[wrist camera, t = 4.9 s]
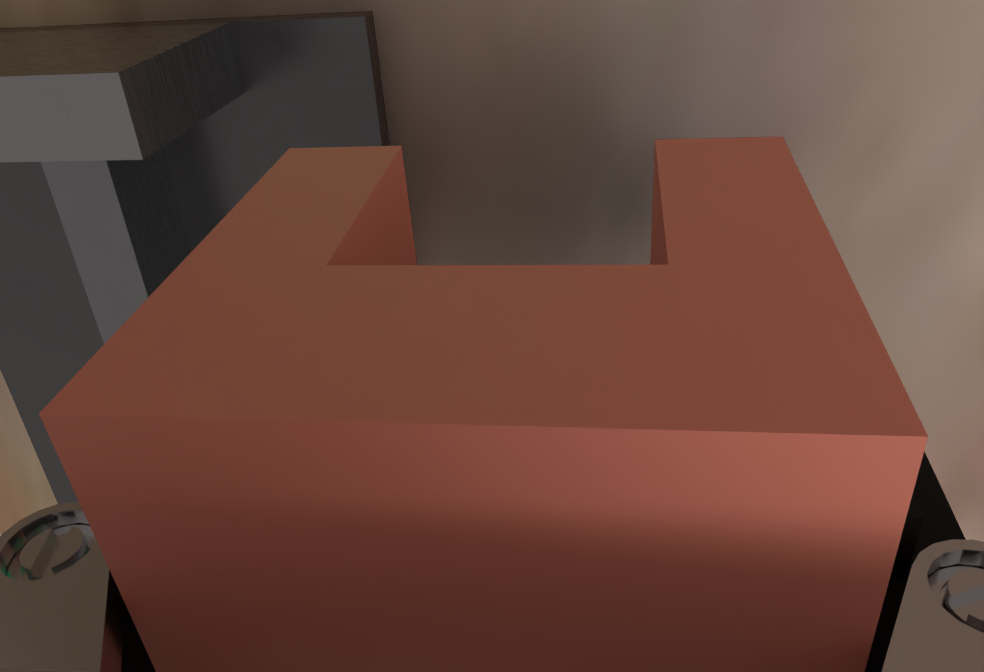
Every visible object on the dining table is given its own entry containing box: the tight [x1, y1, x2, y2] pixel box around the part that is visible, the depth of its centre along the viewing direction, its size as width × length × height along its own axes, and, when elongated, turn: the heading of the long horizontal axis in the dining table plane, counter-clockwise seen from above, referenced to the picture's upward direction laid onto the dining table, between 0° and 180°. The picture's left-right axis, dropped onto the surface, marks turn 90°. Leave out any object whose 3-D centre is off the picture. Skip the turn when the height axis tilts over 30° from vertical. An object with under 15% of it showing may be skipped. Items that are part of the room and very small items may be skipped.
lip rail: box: [0, 11, 390, 504], centre depth 27 cm, size 22×16×7 cm
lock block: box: [39, 137, 928, 672], centre depth 11 cm, size 7×7×6 cm
